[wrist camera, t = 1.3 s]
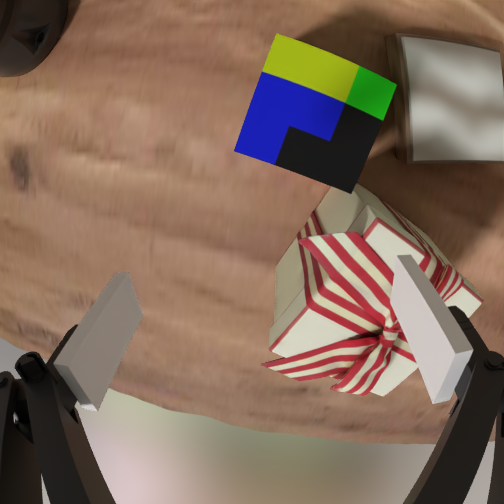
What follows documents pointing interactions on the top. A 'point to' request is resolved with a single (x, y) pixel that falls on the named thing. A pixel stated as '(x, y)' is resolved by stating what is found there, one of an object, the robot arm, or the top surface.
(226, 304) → the top surface
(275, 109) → the puzzle toy
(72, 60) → the top surface
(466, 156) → the stand
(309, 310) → the gift box
